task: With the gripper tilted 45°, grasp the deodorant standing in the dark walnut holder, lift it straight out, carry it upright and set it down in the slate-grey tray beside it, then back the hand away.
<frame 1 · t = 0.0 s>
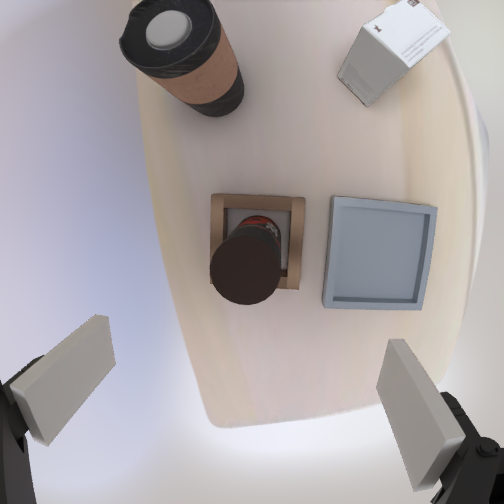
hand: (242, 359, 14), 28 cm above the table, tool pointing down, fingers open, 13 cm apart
travel mug: (217, 91, 37), on the table
deodorant: (257, 238, 41), resting in walnut holder
skincare box: (370, 74, 35), on the table
walnut holder: (257, 238, 41), on the table
slate tray: (378, 253, 40), on the table
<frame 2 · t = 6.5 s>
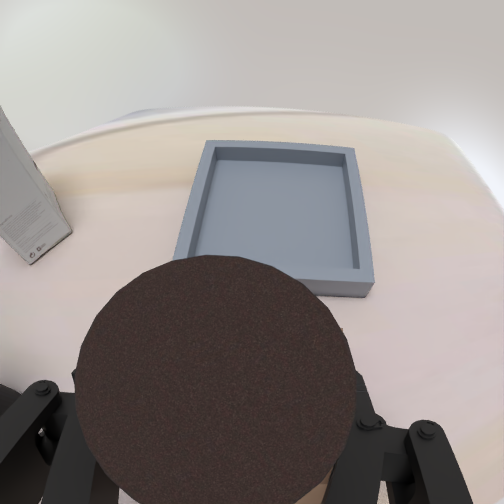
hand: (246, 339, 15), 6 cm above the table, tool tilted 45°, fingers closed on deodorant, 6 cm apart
travel mug: (11, 428, 17), on the table
deodorant: (246, 416, 19), resting in walnut holder, touching gripper
skincare box: (41, 227, 28), on the table
walnut holder: (245, 416, 18), on the table
slate tray: (276, 216, 27), on the table
when the fingers open (8 cm above the table, at t = 13.5 s): deodorant drops 1 cm, resting on slate tray.
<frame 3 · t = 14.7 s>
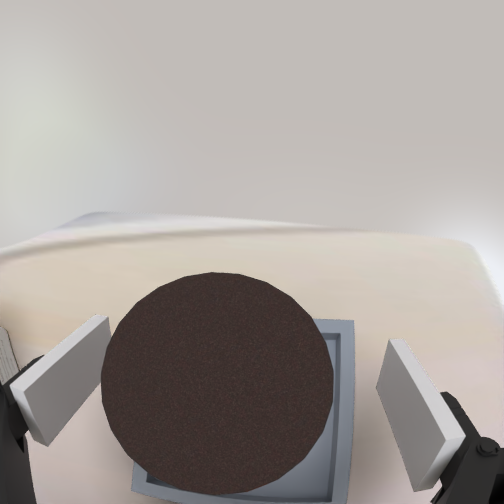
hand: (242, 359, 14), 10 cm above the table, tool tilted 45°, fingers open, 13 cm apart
deodorant: (246, 416, 20), point 1 cm above the table, touching slate tray
skincare box: (1, 375, 21), on the table
slate tray: (247, 416, 20), on the table
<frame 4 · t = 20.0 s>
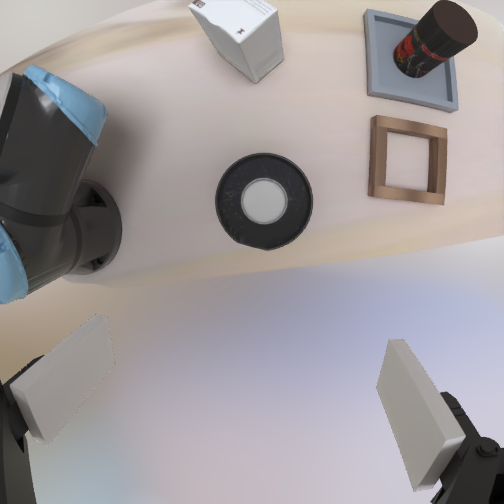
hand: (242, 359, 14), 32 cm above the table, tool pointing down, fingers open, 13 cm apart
travel mug: (271, 191, 43), on the table
deodorant: (410, 60, 36), point 1 cm above the table, touching slate tray
skincare box: (248, 55, 39), on the table
walnut holder: (405, 161, 40), on the table
slate tray: (409, 61, 36), on the table
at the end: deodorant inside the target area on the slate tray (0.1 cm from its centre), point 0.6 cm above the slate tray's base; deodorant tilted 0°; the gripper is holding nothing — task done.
